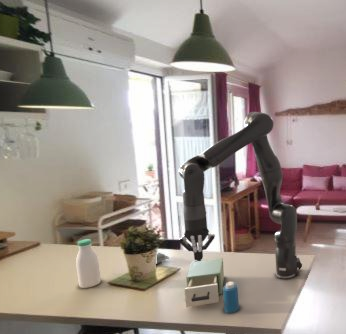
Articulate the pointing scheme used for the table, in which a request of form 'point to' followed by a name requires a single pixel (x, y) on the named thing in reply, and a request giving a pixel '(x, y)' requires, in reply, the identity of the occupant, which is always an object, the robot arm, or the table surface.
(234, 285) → the detergent bottle
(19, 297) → the table surface
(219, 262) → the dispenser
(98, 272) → the milk bottle
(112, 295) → the table surface
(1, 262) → the table surface
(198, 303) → the drawer
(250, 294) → the table surface
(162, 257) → the packaged food
